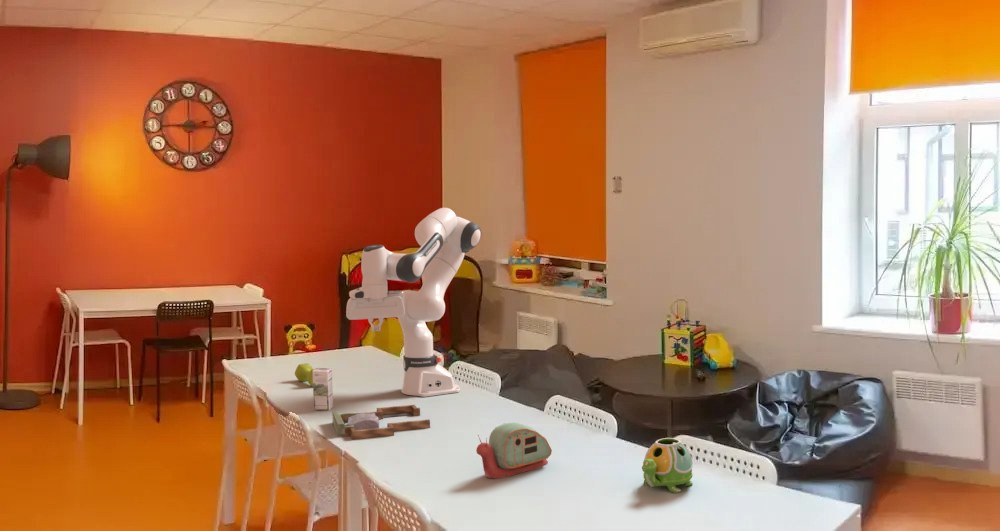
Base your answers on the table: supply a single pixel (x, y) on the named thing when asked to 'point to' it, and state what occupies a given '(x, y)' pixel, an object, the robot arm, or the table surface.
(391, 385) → the table surface
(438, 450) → the table surface
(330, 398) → the syrup box
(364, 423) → the stone block
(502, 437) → the toy snail
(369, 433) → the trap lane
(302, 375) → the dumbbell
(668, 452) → the turtle holder
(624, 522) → the table surface
